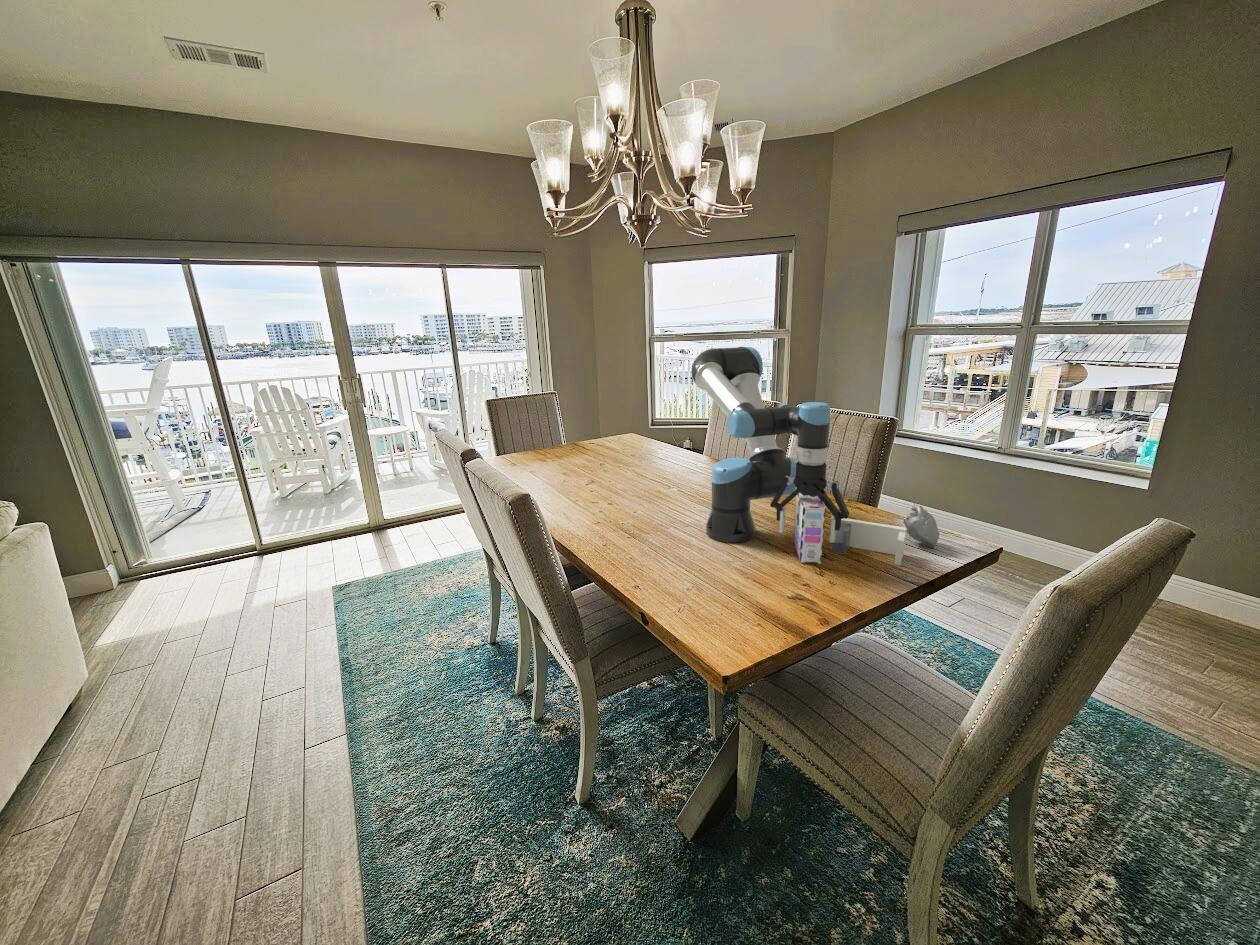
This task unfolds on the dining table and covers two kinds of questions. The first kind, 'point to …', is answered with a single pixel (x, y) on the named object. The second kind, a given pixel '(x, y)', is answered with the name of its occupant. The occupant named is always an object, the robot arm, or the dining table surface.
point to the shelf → (874, 537)
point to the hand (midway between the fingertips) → (806, 535)
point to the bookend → (843, 546)
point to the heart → (922, 526)
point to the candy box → (809, 528)
